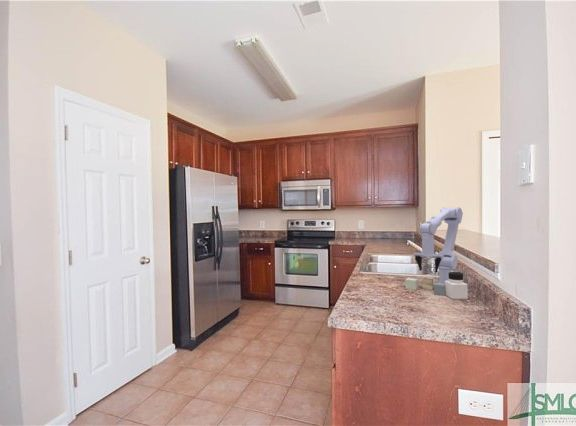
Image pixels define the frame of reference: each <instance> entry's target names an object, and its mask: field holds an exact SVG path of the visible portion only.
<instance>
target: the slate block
mask: <svg viewBox="0 0 576 426" xmlns="http://www.w3.org/2000/svg"><path fill="white" fill-rule="evenodd" d="M433 294H434V295H435V296H446V295H445V285H444V283H438V282H434V288H433Z"/></svg>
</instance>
